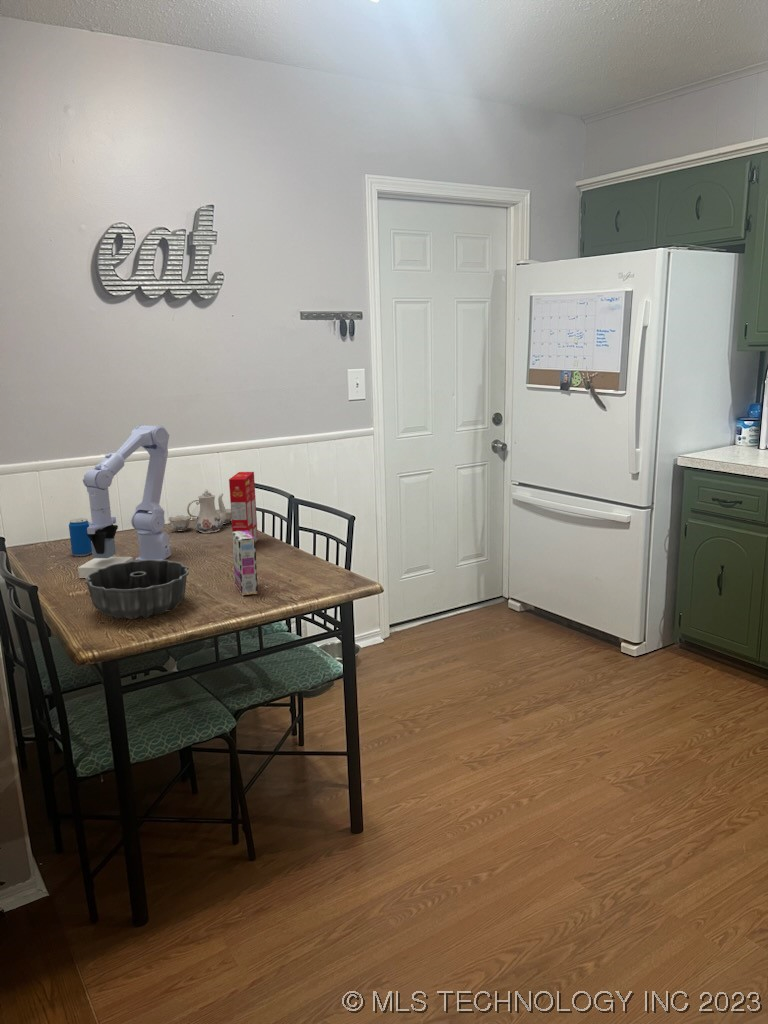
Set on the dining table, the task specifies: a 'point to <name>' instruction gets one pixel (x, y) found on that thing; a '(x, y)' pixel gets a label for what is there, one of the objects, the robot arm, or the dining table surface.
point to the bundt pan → (138, 588)
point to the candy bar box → (245, 561)
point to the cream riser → (100, 564)
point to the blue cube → (108, 550)
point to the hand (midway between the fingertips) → (104, 551)
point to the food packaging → (243, 503)
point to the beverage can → (79, 537)
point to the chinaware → (204, 515)
